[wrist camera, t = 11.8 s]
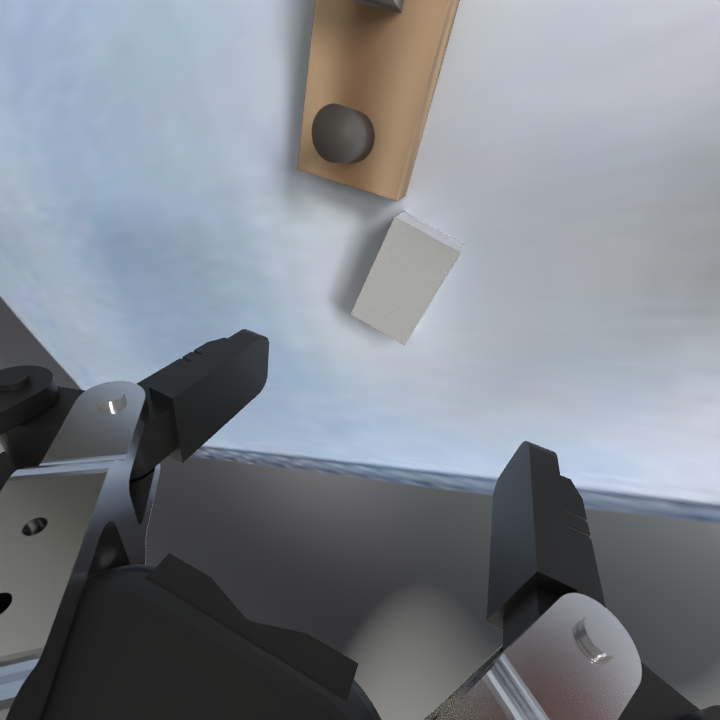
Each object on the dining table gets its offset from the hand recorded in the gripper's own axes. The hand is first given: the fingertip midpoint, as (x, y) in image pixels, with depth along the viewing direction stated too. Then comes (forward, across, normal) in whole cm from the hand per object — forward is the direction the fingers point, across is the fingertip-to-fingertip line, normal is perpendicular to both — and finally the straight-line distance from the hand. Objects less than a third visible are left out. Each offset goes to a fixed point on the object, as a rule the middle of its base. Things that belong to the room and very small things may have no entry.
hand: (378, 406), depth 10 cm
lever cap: (+22, +4, +3) cm, 22 cm away
